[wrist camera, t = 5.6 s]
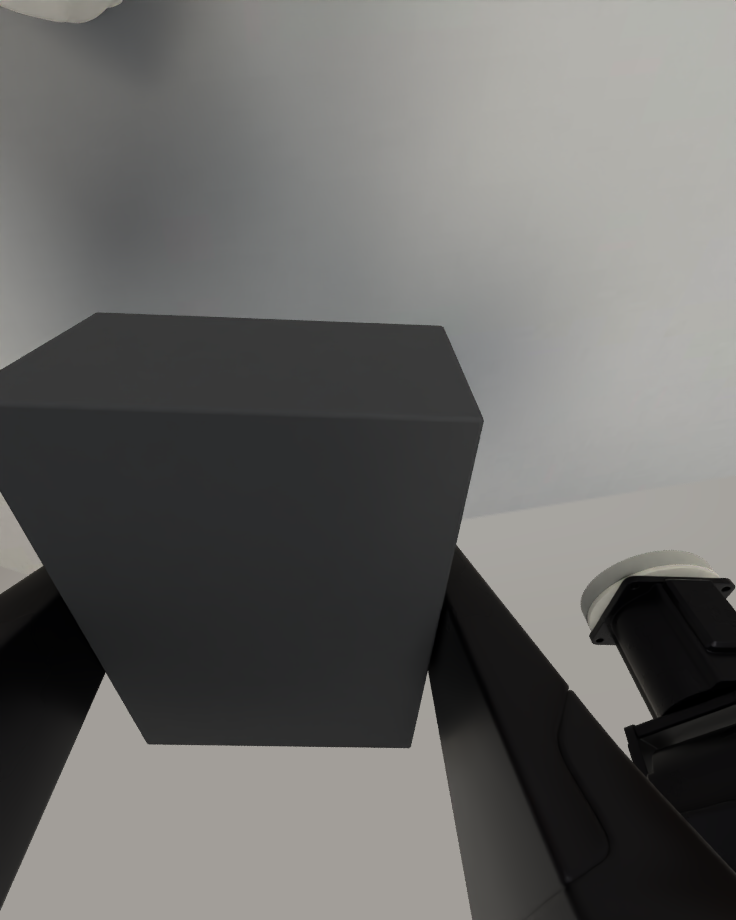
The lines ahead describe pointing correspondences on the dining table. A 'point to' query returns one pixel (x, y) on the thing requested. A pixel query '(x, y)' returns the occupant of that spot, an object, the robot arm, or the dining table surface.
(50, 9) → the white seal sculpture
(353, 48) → the dining table surface
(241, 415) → the loose pad
